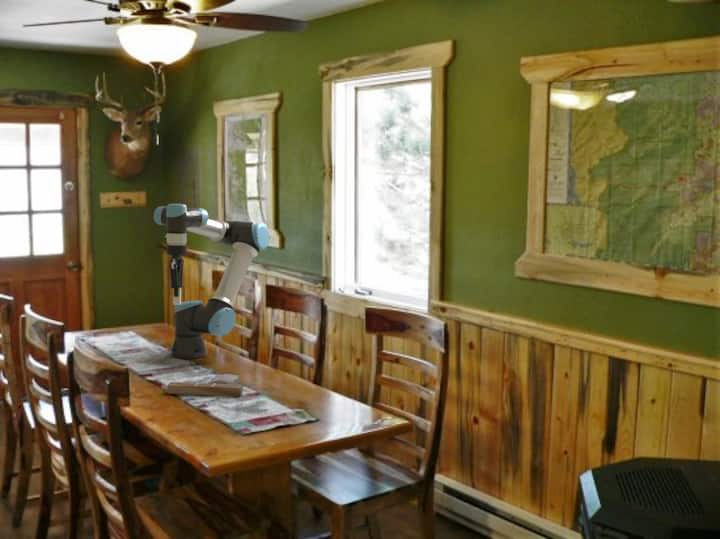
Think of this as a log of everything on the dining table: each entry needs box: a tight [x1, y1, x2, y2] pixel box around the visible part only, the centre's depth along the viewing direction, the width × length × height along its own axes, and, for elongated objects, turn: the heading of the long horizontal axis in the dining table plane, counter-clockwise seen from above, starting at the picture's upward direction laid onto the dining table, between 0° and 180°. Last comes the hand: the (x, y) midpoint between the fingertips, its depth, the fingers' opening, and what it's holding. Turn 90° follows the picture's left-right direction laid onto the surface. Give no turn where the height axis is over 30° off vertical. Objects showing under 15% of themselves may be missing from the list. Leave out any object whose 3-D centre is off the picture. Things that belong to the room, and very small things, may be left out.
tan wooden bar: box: [166, 381, 244, 397], centre depth 278 cm, size 4×26×3 cm, turn 88°
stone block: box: [207, 373, 240, 385], centre depth 287 cm, size 12×5×10 cm
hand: (177, 304), depth 304 cm, fingers closed
